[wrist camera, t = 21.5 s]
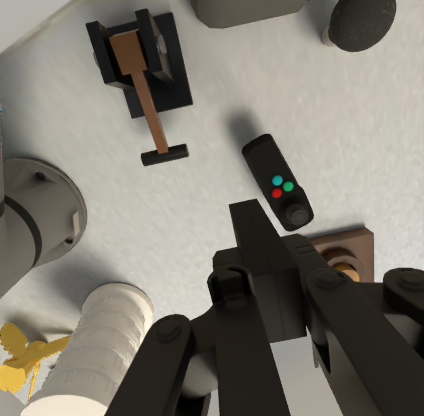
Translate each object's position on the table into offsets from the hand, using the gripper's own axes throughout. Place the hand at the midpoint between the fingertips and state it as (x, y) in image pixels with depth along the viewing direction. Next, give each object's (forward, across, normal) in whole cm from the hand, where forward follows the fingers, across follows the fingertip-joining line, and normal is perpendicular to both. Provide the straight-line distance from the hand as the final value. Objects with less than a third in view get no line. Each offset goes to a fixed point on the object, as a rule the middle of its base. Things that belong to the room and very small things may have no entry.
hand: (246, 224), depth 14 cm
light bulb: (+25, +16, +11) cm, 31 cm away
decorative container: (+24, -22, -22) cm, 40 cm away
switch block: (+24, +14, -21) cm, 35 cm away
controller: (+25, +6, -4) cm, 26 cm away
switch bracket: (+24, -6, +12) cm, 28 cm away
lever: (+16, -6, +8) cm, 19 cm away
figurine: (+15, -38, -26) cm, 48 cm away
